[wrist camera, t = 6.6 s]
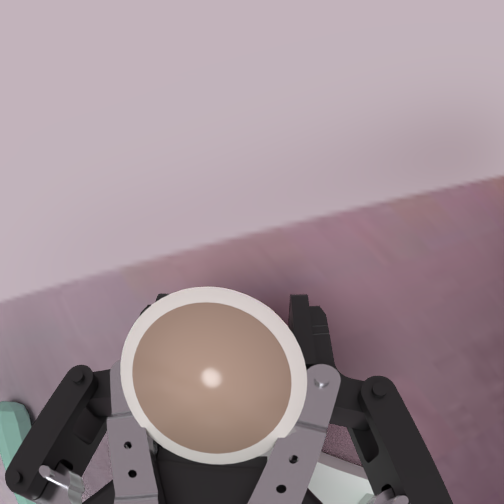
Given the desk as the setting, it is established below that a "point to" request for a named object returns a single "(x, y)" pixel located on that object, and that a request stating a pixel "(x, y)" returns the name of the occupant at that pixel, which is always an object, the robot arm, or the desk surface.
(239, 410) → the cup
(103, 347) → the desk surface
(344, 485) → the tray
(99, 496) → the robot arm
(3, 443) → the green faceted rod
